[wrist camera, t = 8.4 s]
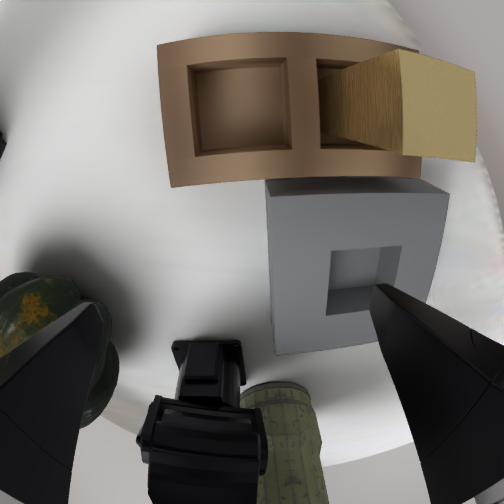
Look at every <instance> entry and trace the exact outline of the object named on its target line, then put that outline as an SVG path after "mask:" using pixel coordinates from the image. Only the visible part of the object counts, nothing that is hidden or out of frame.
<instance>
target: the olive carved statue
mask: <svg viewBox="0 0 504 504" xmlns="http://www.w3.org/2000/svg"><path fill="white" fill-rule="evenodd" d="M310 400H311V399H310V395H309V393H308V391H307V390H306V389H305V388H303V387H302V386H300V385H296V384H292V383H281V382H277V383H268V384H263V385H259V386H256V387H253V388H251V389H249V390H247V391H245V392H244V393H242V394H241V395H240V407H241V408H254V407H256V408H261V412H262V417H263V422H264V427H265V432H266V436H267V442H268V463H267V469H266V472H265V474H264V475H263V476H259V481H258V491H257V504H329V501H328V495H327V490H326V485H325V480H324V476H323V471H322V466H321V461H320V456H319V455H320V450H321V445H322V440H321V436H320V431H319V427H318V423H317V418H316V414H315V412H314V410H313V408H312V406H311V402H310Z"/></svg>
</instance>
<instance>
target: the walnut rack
mask: <svg viewBox="0 0 504 504" xmlns="http://www.w3.org/2000/svg"><path fill="white" fill-rule="evenodd" d="M397 49H401V50H406V51H410V52H414V53H418V54H419V51H418V50H414V49H410V48H406V47H402V46H398V45H393V44H389V43H384V42H379V41H373V40H367V39H361V38H354V37H347V36H339V35H329V34H317V33H299V32H256V33H238V34H226V35H216V36H207V37H200V38H193V39H187V40H181V41H175V42H170V43H165V44H160V45H157V58H158V75H159V88H160V100H161V111H162V121H163V130H164V139H165V147H166V155H167V163H168V170H169V178H170V184H171V188H174V187H182V186H191V185H200V184H210V183H221V182H232V181H245V180H259V179H276V178H296V177H328V176H389V177H419V178H420V173H421V159H422V156H409V155H401V154H398V153H395V152H392V151H388V150H385V149H382V148H379V147H375V146H372V145H369V144H365V143H361V142H358V141H354V140H350V139H347V138H343V137H339V136H335V135H330V134H326V133H322V132H320V118H319V97H318V80H319V79H321V78H323V77H325V76H328V75H330V74H332V73H335V72H337V71H340V70H342V69H344V68H347V67H349V66H352V65H354V64H357V63H360V62H362V61H365V60H368V59H370V58H373V57H376V56H379V55H382V54H385V53H388V52H391V51H394V50H397Z"/></svg>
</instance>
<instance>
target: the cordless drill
mask: <svg viewBox="0 0 504 504" xmlns="http://www.w3.org/2000/svg"><path fill="white" fill-rule="evenodd" d="M2 134H3V133H2V132H1V131H0V159H1V156H2V154H3V151H4V149H5V146H6V143H5V142H4V140H3V139H2Z"/></svg>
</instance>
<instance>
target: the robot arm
mask: <svg viewBox="0 0 504 504" xmlns="http://www.w3.org/2000/svg"><path fill="white" fill-rule="evenodd" d="M369 311H370V315H371V318H372V321H373V325H374V328H375V331H376V335H377V338H378V342H379V345H380V349H381V352H382V354H383V357H384V359H385V362H386V364H387V367H388V370H389V372H390V375H391V377H392V380H393V382H394V385H395V388H396V390H397V393H398V396H399V399H400V401H401V404H402V407H403V410H404V413H405V416H406V419H407V421H408V424H409V427H410V431H411V434H412V437H413V440H414V443H415V446H416V450H417V453H418V456H419V459H420V462H421V467H422V471H423V474H424V478H425V481H426V485H427V489H428V493H429V498H430V502H431V504H462V503H464V502H466V501H468V500H469V499H471V498H473V497H474V498H475V501H476V503H477V504H504V346H503V345H501V344H499V343H497V342H495V341H493V340H491V339H489V338H488V337H486V336H484V335H482V334H480V333H478V332H477V331H475V330H473V329H471V328H470V329H469V327H468V326H466V325H464V324H462V323H461V322H459V321H457V320H455V319H453V318H451V317H450V316H448V315H446V314H444V313H442V312H440V311H439V310H437V309H435V308H433V307H431V306H429V305H427V304H426V303H424V302H422V301H420V300H418V299H416V298H414V297H412V296H411V295H409V294H407V293H405V292H403V291H401V290H399V289H397V288H395V287H393V286H391V285H389V284H388V283H380V284H375V285H374V286H373V289H372V295H371V300H370V305H369ZM103 328H104V325H103V321H102V318H101V316H100V314H99V311H98V309H97V307H96V305H95V304H94V303H82V304H80V305H79V306H77V307H76V308H74V309H73V310H71V311H69V312H68V313H66V314H65V315H63V316H62V317H60V318H59V319H57V320H56V321H54V322H52V323H51V324H49V325H48V326H46V327H45V328H43V329H42V330H40V331H39V332H37V333H36V334H34V335H33V336H32V337H30V338H29V339H27V340H26V341H24V342H23V343H21V344H20V345H18V346H17V347H15V348H14V349H13V350H11V351H10V352H8V353H7V354H5V355H4V356H3V357H1V358H0V504H68V498H69V490H70V482H71V475H72V472H71V471H72V467H73V461H74V455H75V449H76V444H77V439H78V434H79V429H80V425H81V420H82V416H83V412H84V408H85V404H86V400H87V396H88V392H89V388H90V384H91V381H92V377H93V374H94V370H95V366H96V362H97V357H98V352H99V347H100V342H101V338H102V333H103ZM234 345H237V346H234ZM176 347H178V348H176ZM171 349H172V352H173V355H174V358H175V360H176V363H177V366H178V369H179V371H180V372H179V377H178V383H177V388H176V394H175V399H170V398H164V397H162V396H159V395H156V396H155V398H154V401H153V402H151V404H150V405H149V409H148V414H147V417H146V419H145V422H144V424H143V426H142V428H141V430H140V432H139V433H138V435H137V438H136V443H137V444H138V445H139V447H140V448H141V455H142V461H143V463H146V464H149V468H148V495H149V497H150V499H151V501H152V503H153V504H257V491H258V481H259V476H263V475H264V474H265V472H266V469H267V463H268V442H267V436H266V432H265V427H264V422H263V417H262V412H261V408H256V407H254V408H241V407H240V386H244V385H246V373H245V366H244V359H243V351H242V344H241V342H240V341H238V340H230V341H206V342H174V343H173V344H172V346H171Z"/></svg>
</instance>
